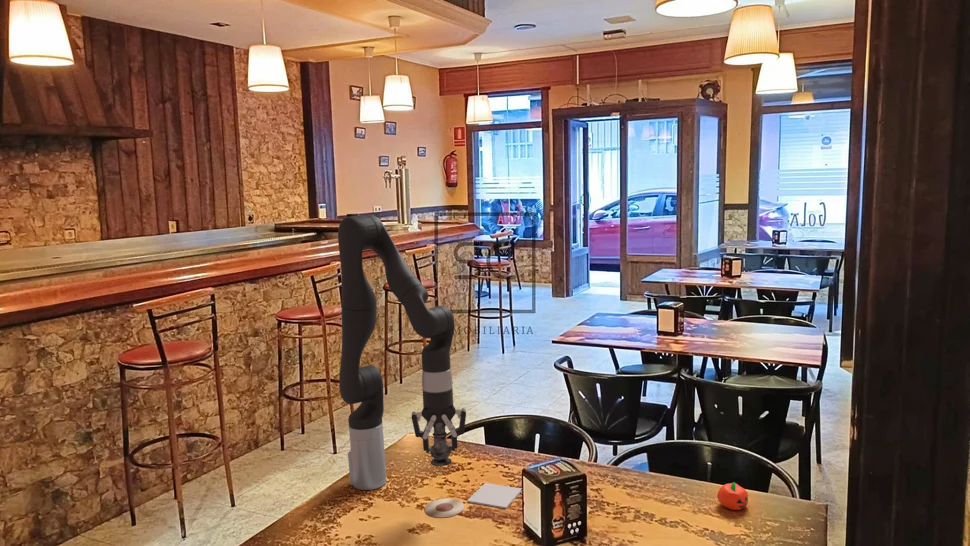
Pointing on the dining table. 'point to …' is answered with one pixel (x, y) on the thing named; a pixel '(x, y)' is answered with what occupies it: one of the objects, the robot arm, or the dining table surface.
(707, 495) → the dining table surface
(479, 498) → the mat
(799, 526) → the dining table surface
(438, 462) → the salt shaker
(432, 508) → the coaster
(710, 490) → the dining table surface
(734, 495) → the halloween pumpkin figurine
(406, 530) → the dining table surface
